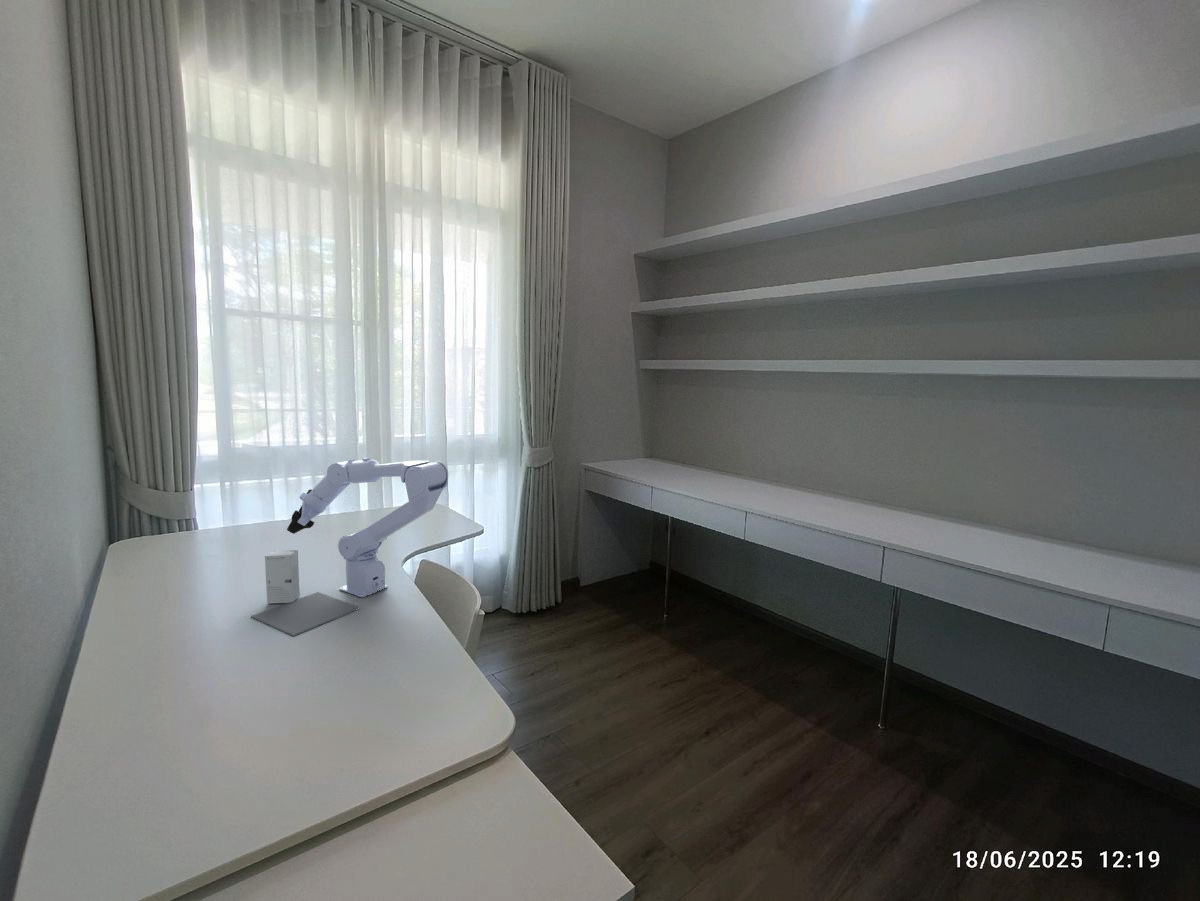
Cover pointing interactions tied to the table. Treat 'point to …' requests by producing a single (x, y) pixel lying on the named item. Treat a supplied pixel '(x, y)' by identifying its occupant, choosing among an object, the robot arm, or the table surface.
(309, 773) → the table surface
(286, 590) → the skincare box
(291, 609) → the mat
